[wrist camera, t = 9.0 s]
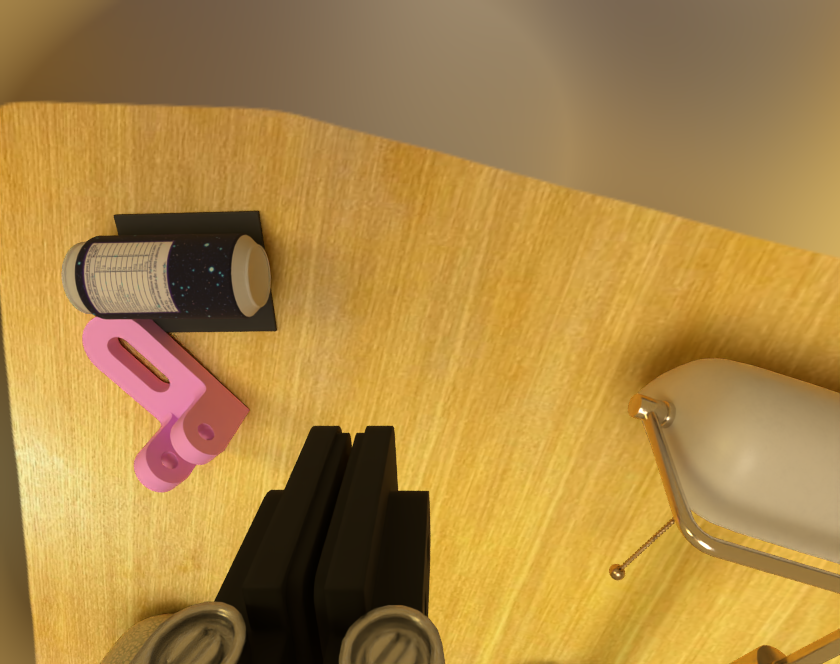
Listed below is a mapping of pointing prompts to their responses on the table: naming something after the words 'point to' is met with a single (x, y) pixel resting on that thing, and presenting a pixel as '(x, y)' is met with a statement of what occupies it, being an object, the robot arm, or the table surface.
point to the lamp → (749, 472)
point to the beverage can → (167, 276)
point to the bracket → (166, 398)
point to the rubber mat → (203, 225)
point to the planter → (133, 640)
